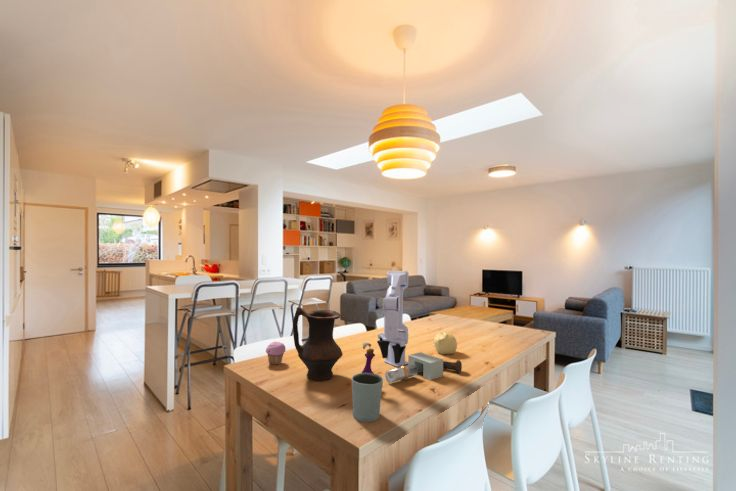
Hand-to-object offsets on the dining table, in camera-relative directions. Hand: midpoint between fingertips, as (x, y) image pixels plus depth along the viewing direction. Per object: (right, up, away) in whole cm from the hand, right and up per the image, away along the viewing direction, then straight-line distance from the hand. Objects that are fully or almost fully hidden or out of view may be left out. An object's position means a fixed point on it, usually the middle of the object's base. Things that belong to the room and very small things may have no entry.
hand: (391, 360), depth 134 cm
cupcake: (-53, -10, +23) cm, 58 cm away
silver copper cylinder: (+5, -9, +3) cm, 11 cm away
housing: (+16, -10, +12) cm, 22 cm away
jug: (-31, -9, +7) cm, 33 cm away
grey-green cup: (-10, -9, -26) cm, 29 cm away
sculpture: (+32, -11, +42) cm, 54 cm away
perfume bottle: (-10, -9, -6) cm, 15 cm away
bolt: (+25, -10, +17) cm, 32 cm away
